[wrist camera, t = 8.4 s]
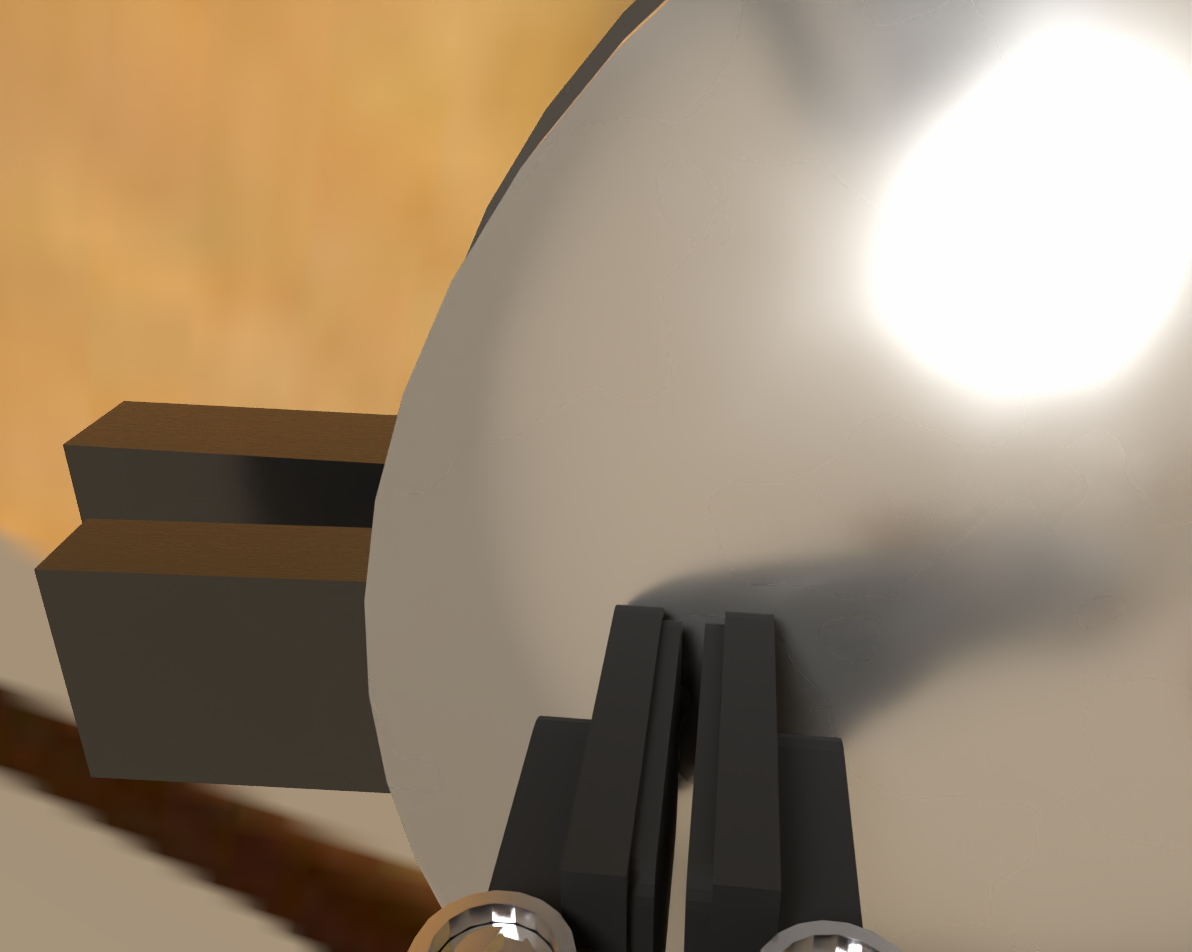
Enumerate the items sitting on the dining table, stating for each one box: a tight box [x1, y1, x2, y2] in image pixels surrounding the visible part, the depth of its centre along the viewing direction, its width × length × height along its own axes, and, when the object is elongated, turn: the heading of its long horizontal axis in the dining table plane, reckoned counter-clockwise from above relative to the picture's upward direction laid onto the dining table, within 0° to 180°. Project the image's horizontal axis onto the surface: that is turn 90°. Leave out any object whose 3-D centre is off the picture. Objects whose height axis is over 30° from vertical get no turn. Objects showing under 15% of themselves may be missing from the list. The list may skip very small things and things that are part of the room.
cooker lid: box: [34, 0, 1192, 952], centre depth 12 cm, size 23×20×3 cm
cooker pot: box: [63, 0, 665, 528], centre depth 19 cm, size 25×20×10 cm
